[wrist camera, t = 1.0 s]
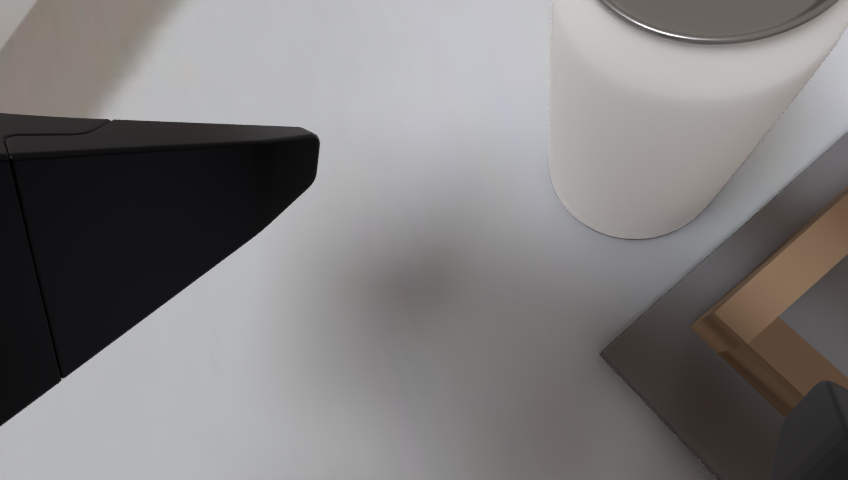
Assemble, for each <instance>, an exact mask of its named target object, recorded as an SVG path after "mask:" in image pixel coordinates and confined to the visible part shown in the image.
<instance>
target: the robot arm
mask: <svg viewBox="0 0 848 480" xmlns="http://www.w3.org/2000/svg"><path fill="white" fill-rule="evenodd" d="M319 148H320V141H319V138H318V136H317V135H316V134H314V133H312V132H310V131H308V130H306V129H304V128H301V127H285V126H260V125H235V124H210V123H185V122H160V121H135V120H112V121H110V120H108V119H87V118H67V117H49V116H34V115H20V114H6V113H0V426H1V425H3V424H4V423H5V422H7V421H8V420H10V419H11V418H12V417H14V416H15V415H16V414H18V413H19V412H20V411H22V410H23V409H24V408H26V407H27V406H28V405H30V404H31V403H32V402H34V401H35V400H36V399H38V398H39V397H40V396H42V395H43V394H44V393H46V392H47V391H48V390H50V389H51V388H52V387H54V386H55V385H56V384H58V383H59V382H60V381H61V378H65V377H67V376H68V375H69V374H71V373H72V372H73V371H75V370H76V369H77V368H79V367H80V366H81V365H83V364H84V363H85V362H87V361H88V360H89V359H91V358H92V357H93V356H95V355H96V354H98V353H99V352H100V351H102V350H103V349H104V348H106V347H107V346H108V345H110V344H111V343H112V342H114V341H115V340H116V339H118V338H119V337H120V336H122V335H123V334H124V333H126V332H127V331H128V330H130V329H131V328H132V327H134V326H135V325H136V324H138V323H139V322H140V321H142V320H143V319H145V318H146V317H147V316H149V315H150V314H151V313H153V312H154V311H155V310H157V309H158V308H159V307H161V306H162V305H163V304H165V303H166V302H167V301H169V300H170V299H171V298H173V297H174V296H175V295H177V294H178V293H179V292H181V291H182V290H183V289H185V288H186V287H187V286H189V285H190V284H192V283H193V282H194V281H196V280H197V279H198V278H200V277H201V276H202V275H204V274H205V273H206V272H208V271H209V270H210V269H212V268H213V267H214V266H216V265H217V264H218V263H220V262H221V261H222V260H224V259H225V258H226V257H228V256H229V255H230V254H232V253H233V252H234V251H236V250H237V249H239V248H240V247H241V246H243V245H244V244H245V243H247V242H248V241H249V240H251V239H252V238H253V237H255V236H256V235H257V234H258V233H260V232H261V231H262V230H263V229H264V228H265V227H267V226H268V225H269V224H270V223H271V222H272V221H273V220H274V219H275V218H276V217H278V216H279V215H280V214H281V213H282V212H283V211H284V210H285V209H286V208H287V207H288V206H289V205H291V204H292V203H293V202H294V201H295V200H296V199H297V198H298V197H299V196H300V195H301V194H302V193H303V192H305V191H306V190H307V189H308V188H309V187H310V186H311V185H312V183H313V182H314V180H315V177H316V174H317V165H318V157H319ZM769 480H848V389H846V388H844V387H842V386H840V385H838V384H836V383H834V382H832V381H829V380H823V381H820V382H819V383H817V384H816V385H815V386H814V387H813V388H812V389H811V390H810V391H809V392H808V393H807V394H806V396H805V397H804V398H803V399H802V400H801V401H800V402H799V403H798V404H797V405H796V407H795V408H794V409H793V410H792V411H791V412H790V413H789V414H788V416H787V417H786V419H785V420H784V422H783V424H782V427H781V430H780V434H779V438H778V443H777V447H776V451H775V456H774V460H773V464H772V469H771V473H770V478H769Z"/></svg>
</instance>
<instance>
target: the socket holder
mask: <svg viewBox="0 0 848 480" xmlns="http://www.w3.org/2000/svg"><path fill="white" fill-rule="evenodd" d="M600 355H601V356H602V357H603V358H604V359H605V361H606V362H607V363H608V364H609V365H610V366H611V367H612V368H613V369H614V370H615V371H616V372H617V373H618V374H619V375H620V376H621V377H622V378H623V379H624V380H625V382H626V383H627V384H628V385H629V386H630V387H631V388H632V389H633V390H634V391H635V392H636V393H637V394H638V395H639V396H640V397H641V398H642V399H643V400H644V401H645V403H646V404H647V405H648V406H649V407H650V408H651V409H652V410H653V411H654V412H655V413H656V414H657V415H658V416H659V417H660V418H661V419H662V420H663V421H664V423H665V424H666V425H667V426H668V427H669V428H670V429H671V430H672V431H673V432H674V433H675V434H676V435H677V436H678V437H679V438H680V439H681V440H682V441H683V442H684V444H685V445H686V446H687V447H688V448H689V449H690V450H691V451H692V452H693V453H694V454H695V455H696V456H697V457H698V458H699V459H700V460H701V461H702V462H703V463H704V465H705V466H706V467H707V468H708V469H709V470H710V471H711V472H712V473H713V474H714V475H715V476H716V477H717V478H718V479H719V480H769V478H770V473H771V469H772V464H773V460H774V456H775V451H776V447H777V443H778V438H779V434H780V430H781V427H782V424H783V422H784V420H785V419H786V417H787V416H788V414H789V413H790V412H791V411H792V410H793V409H794V408H795V407H796V405H797V404H798V403H799V402H800V401H801V400H802V399H803V398H804V397H805V396H806V394H807V393H808V392H809V391H810V390H811V389H812V388H813V387H814V386H815V385H816V384H817V383H819V382H820V381H823V380H829V381H832V382H834V383H836V384H838V385H840V386H842V387H844V388H846V389H848V133H846V134H845V135H844V136H843V137H842V138H841V139H840V140H839V141H838V142H836V143H835V144H834V145H833V146H832V147H831V148H830V149H829V150H827V151H826V152H825V153H824V154H823V155H822V156H821V157H820V158H818V159H817V160H816V161H815V162H814V163H813V164H812V165H811V166H809V167H808V168H807V169H806V170H805V171H804V172H803V173H802V174H800V175H799V176H798V177H797V178H796V179H795V180H794V181H793V182H791V183H790V184H789V185H788V186H787V187H786V188H785V189H784V190H782V191H781V192H780V193H779V194H778V195H777V196H776V197H775V198H774V199H772V200H771V201H770V202H769V203H768V204H767V205H766V206H765V207H763V208H762V209H761V210H760V211H759V212H758V213H757V214H756V215H754V216H753V217H752V218H751V219H750V220H749V221H748V222H747V223H745V224H744V225H743V226H742V227H741V228H740V229H739V230H738V231H736V232H735V233H734V234H733V235H732V236H731V237H730V238H729V239H727V240H726V241H725V242H724V243H723V244H722V245H721V246H720V247H719V248H717V249H716V250H715V251H714V252H713V253H712V254H711V255H710V256H708V257H707V258H706V259H705V260H704V261H703V262H702V263H701V264H699V265H698V266H697V267H696V268H695V269H694V270H693V271H692V272H690V273H689V274H688V275H687V276H686V277H685V278H684V279H683V280H681V281H680V282H679V283H678V284H677V285H676V286H675V287H674V288H672V289H671V290H670V291H669V292H668V293H667V294H666V295H665V296H663V297H662V298H661V299H660V300H659V301H658V302H657V303H656V304H655V305H653V306H652V307H651V308H650V309H649V310H648V311H647V312H646V313H644V314H643V315H642V316H641V317H640V318H639V319H638V320H637V321H635V322H634V323H633V324H632V325H631V326H630V327H629V328H628V329H626V330H625V331H624V332H623V333H622V334H621V335H620V336H619V337H617V338H616V339H615V340H614V341H613V342H612V343H611V344H610V345H608V346H607V347H606V348H605V349H604V350H603V351H602V352H601V353H600Z"/></svg>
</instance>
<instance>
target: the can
mask: <svg viewBox="0 0 848 480" xmlns="http://www.w3.org/2000/svg"><path fill="white" fill-rule="evenodd" d="M847 26H848V0H552V1H551V27H550V78H549V170H550V176H551V180H552V184H553V187H554V189H555V192H556V194H557V196H558V197H559V199H560V201H561V202H562V204H563V205H564V206H565V208H566V209H567V210H568V211H569V212H570V213H571V214H572V215H573V216H574V217H575V218H577V219H578V220H579V221H580V222H582V223H583V224H585V225H586V226H588V227H590V228H592V229H594V230H596V231H598V232H601V233H603V234H606V235H610V236H614V237H619V238H626V239H645V238H653V237H658V236H661V235H665V234H668V233H671V232H673V231H675V230H677V229H679V228H681V227H683V226H685V225H686V224H688V223H689V222H691V221H692V220H693V219H694V218H696V217H697V216H698V215H699V214H700V213H701V212H702V211H703V210H704V209H705V208H706V207H707V206H708V204H709V203H710V202H711V201H712V200H713V198H714V197H715V196H716V195H717V194H718V193H719V191H720V190H721V189H722V188H723V186H724V185H725V184H726V183H727V182H728V180H729V179H730V178H731V177H732V175H733V174H734V173H735V172H736V171H737V169H738V168H739V167H740V166H741V164H742V163H743V162H744V161H745V159H746V158H747V157H748V156H749V155H750V153H751V152H752V151H753V150H754V148H755V147H756V146H757V145H758V143H759V142H760V141H761V140H762V138H763V137H764V136H765V135H766V133H767V132H768V131H769V130H770V128H771V127H772V126H773V125H774V123H775V122H776V121H777V120H778V118H779V117H780V116H781V115H782V113H783V112H784V111H785V110H786V108H787V107H788V106H789V105H790V103H791V102H792V101H793V100H794V98H795V97H796V96H797V95H798V93H799V92H800V91H801V90H802V88H803V87H804V86H805V85H806V83H807V82H808V81H809V79H810V78H811V77H812V76H813V74H814V73H815V72H816V71H817V69H818V68H819V67H820V65H821V64H822V63H823V62H824V60H825V59H826V57H827V56H828V55H829V53H830V52H831V51H832V49H833V48H834V47H835V45H836V44H837V42H838V41H839V39H840V38H841V36H842V34H843V32H844V31H845V29H846V27H847Z"/></svg>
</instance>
